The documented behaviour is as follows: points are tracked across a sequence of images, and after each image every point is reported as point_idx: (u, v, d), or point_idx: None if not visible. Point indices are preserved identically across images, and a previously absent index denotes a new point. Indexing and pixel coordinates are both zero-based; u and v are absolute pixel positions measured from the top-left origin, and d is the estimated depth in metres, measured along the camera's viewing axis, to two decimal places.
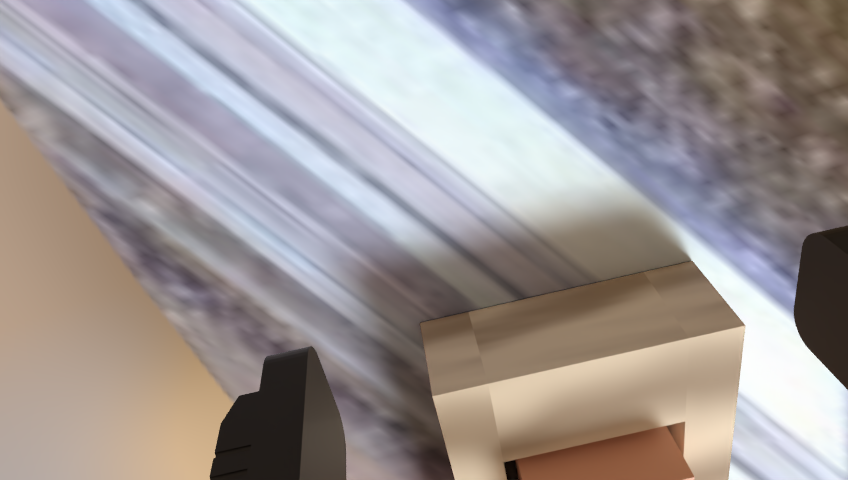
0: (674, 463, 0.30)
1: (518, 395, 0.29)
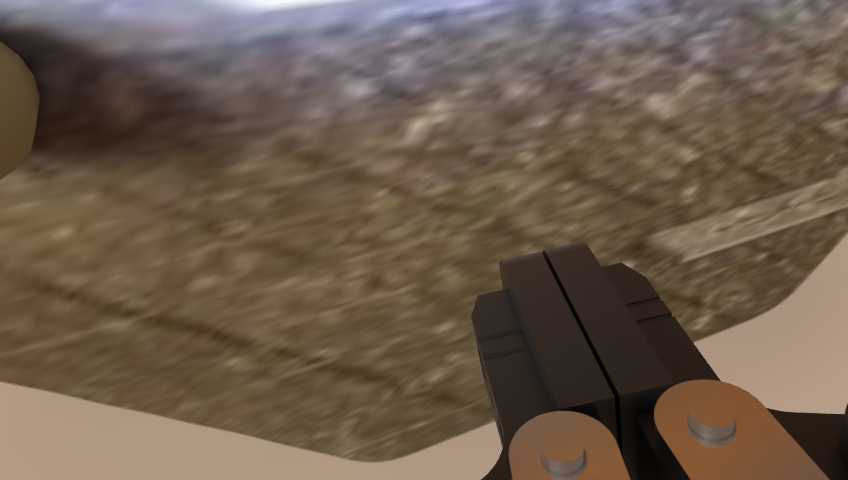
0: None
1: None
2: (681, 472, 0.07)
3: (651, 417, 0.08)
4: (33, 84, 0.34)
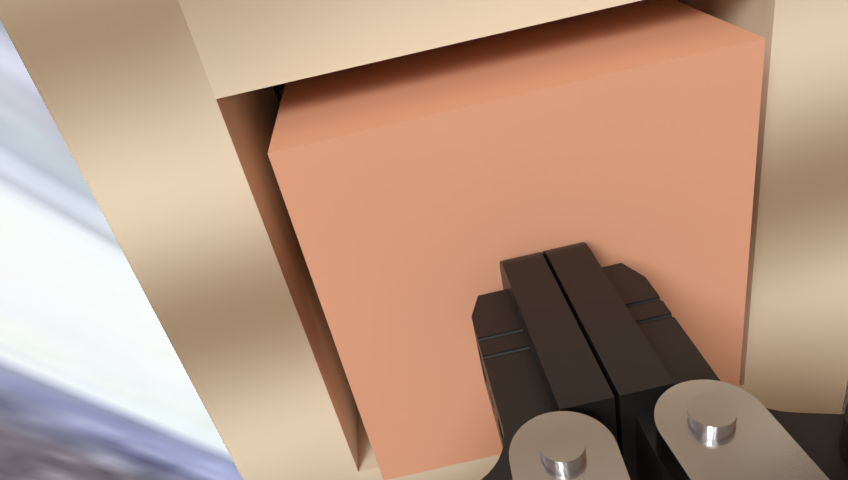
0: None
1: None
2: (681, 472, 0.07)
3: (651, 417, 0.08)
4: None
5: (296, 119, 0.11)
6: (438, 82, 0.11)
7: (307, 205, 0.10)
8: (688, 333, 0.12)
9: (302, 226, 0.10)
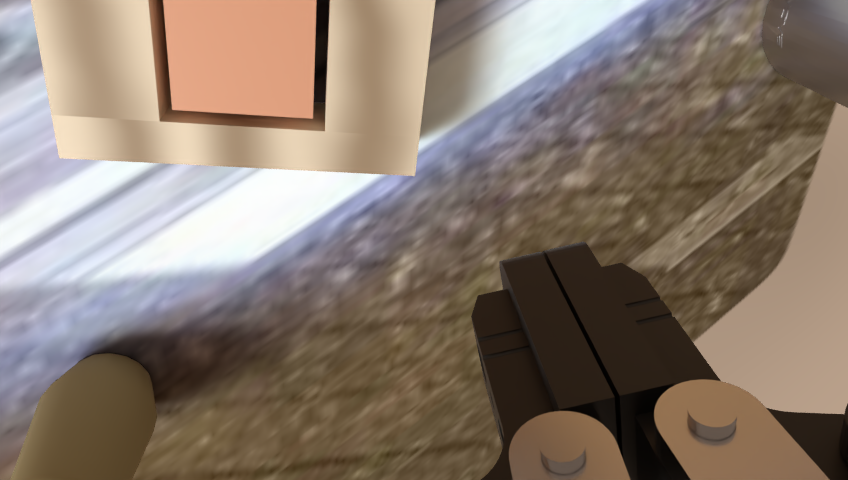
0: (313, 104, 0.37)
1: None
2: (681, 472, 0.07)
3: (651, 417, 0.08)
4: (140, 371, 0.49)
5: None
6: None
7: (190, 105, 0.35)
8: None
9: (197, 109, 0.36)
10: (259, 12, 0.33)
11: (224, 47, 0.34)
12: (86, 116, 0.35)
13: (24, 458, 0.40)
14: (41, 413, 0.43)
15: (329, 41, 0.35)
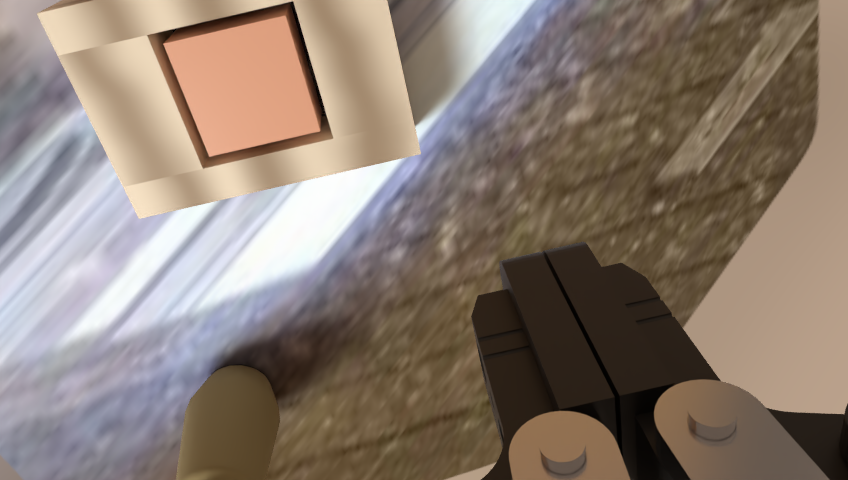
0: (318, 118, 0.43)
1: (368, 5, 0.39)
2: (681, 472, 0.07)
3: (651, 417, 0.08)
4: (256, 375, 0.58)
5: None
6: None
7: (222, 149, 0.43)
8: (256, 41, 0.40)
9: (227, 150, 0.43)
10: (250, 59, 0.40)
11: (232, 95, 0.41)
12: (148, 180, 0.43)
13: (181, 459, 0.50)
14: (187, 423, 0.53)
15: (312, 64, 0.41)
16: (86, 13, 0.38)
